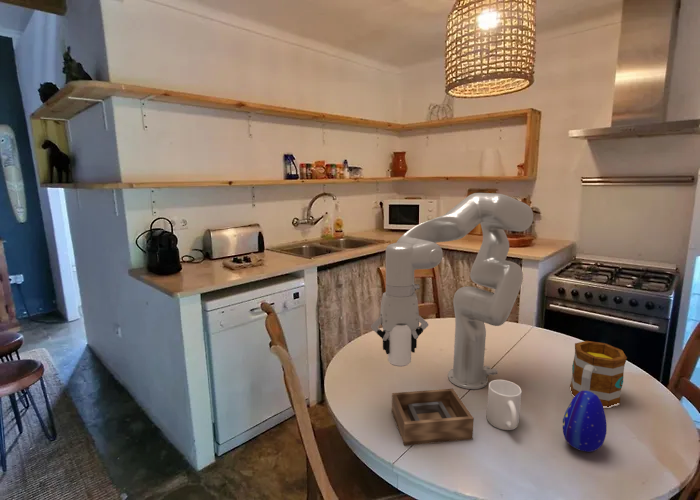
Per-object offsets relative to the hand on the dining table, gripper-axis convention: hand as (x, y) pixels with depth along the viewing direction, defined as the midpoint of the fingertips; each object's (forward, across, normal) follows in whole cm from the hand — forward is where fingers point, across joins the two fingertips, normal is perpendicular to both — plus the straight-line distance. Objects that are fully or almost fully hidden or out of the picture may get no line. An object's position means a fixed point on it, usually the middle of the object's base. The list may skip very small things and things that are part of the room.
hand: (399, 350), depth 107 cm
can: (+3, 0, 0) cm, 3 cm away
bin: (+19, -7, +6) cm, 21 cm away
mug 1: (+20, -27, +9) cm, 35 cm away
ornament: (+20, -43, +18) cm, 50 cm away
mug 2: (+20, -59, -1) cm, 62 cm away
